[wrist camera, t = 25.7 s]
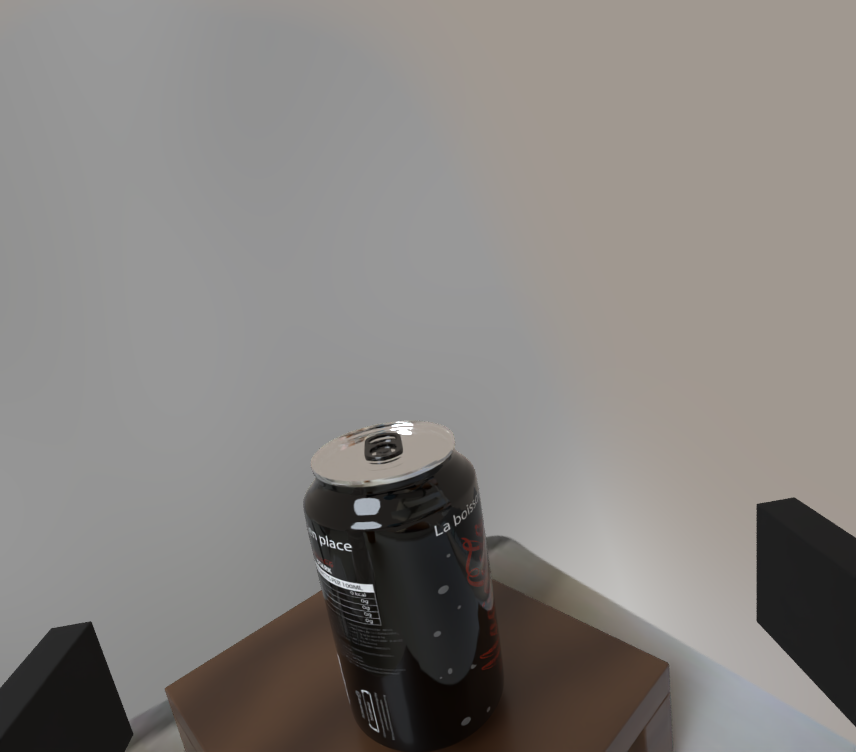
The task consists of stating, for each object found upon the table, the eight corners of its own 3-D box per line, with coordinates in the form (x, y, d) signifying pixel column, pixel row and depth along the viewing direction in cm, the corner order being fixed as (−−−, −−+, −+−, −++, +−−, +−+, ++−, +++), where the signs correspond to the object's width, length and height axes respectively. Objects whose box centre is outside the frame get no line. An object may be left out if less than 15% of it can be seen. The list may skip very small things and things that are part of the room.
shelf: (674, 768, 26) (669, 662, 24) (424, 1179, 16) (389, 1043, 14) (419, 611, 39) (405, 536, 37) (195, 780, 29) (163, 687, 27)
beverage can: (489, 629, 28) (456, 405, 25) (527, 751, 21) (488, 467, 18) (355, 656, 27) (304, 432, 24) (350, 790, 21) (280, 506, 18)
